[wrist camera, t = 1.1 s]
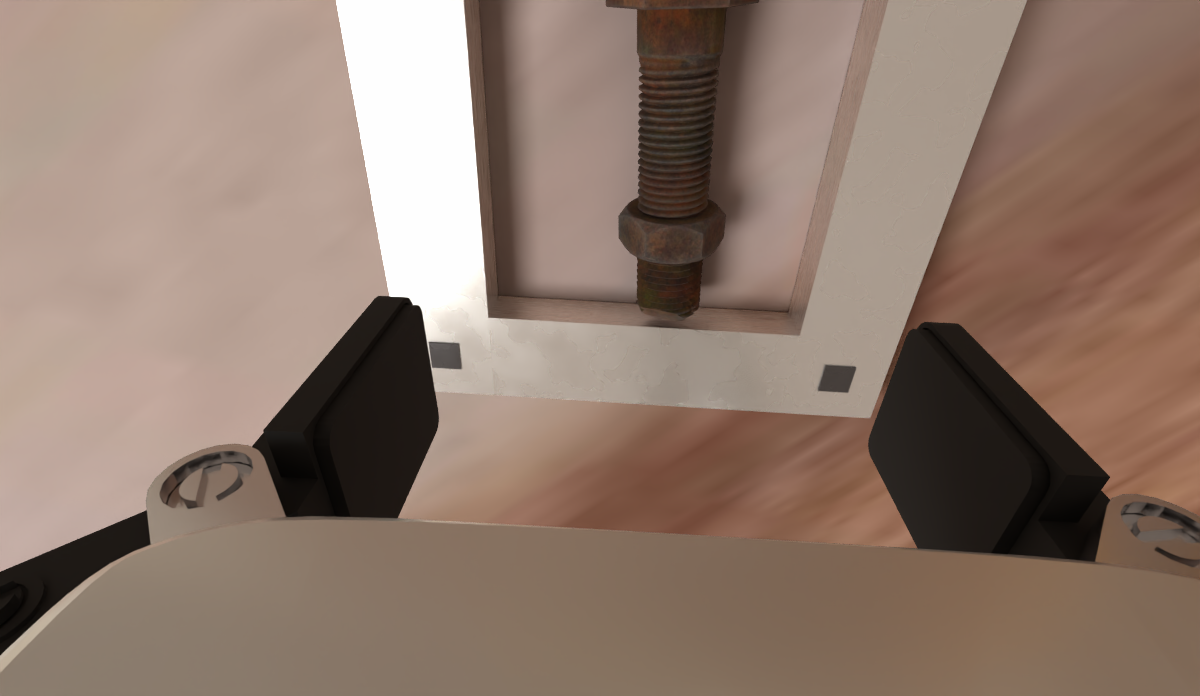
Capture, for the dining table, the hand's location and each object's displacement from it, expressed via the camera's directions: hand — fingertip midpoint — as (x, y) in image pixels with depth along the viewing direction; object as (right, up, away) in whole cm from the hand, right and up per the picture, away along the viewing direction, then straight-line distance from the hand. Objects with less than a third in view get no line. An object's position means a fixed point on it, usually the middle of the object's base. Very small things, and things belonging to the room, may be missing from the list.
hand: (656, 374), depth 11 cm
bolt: (+2, +10, +16) cm, 19 cm away
